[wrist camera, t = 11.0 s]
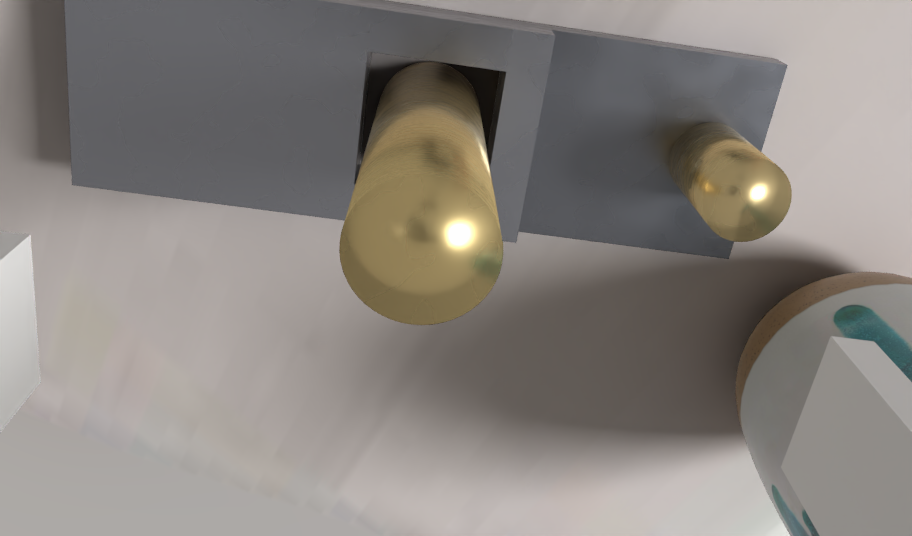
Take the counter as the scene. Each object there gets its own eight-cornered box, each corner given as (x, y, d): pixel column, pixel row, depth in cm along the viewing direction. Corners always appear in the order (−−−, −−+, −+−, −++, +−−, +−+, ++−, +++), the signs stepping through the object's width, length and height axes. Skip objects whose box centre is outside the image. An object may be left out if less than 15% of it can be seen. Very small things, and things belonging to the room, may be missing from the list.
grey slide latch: (90, -44, 31) (14, -29, 25) (775, 59, 33) (842, 93, 27) (96, 164, 34) (30, 218, 29) (719, 247, 36) (768, 312, 30)
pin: (384, 55, 32) (347, 163, 20) (486, 69, 33) (515, 186, 20) (373, 154, 34) (332, 315, 21) (471, 167, 34) (489, 333, 22)
